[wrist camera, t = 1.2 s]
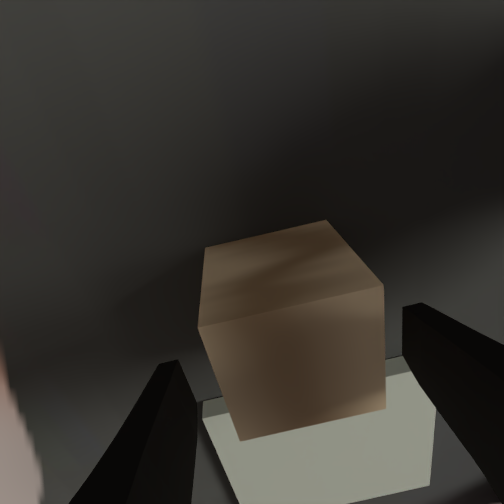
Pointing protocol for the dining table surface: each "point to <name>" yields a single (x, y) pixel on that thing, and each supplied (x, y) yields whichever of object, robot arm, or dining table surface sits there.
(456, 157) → the dining table surface
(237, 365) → the maple block
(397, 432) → the sage tile
